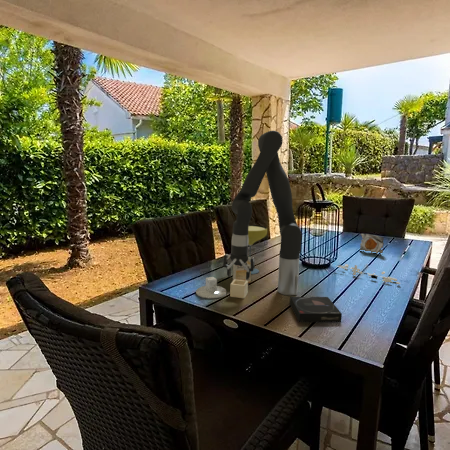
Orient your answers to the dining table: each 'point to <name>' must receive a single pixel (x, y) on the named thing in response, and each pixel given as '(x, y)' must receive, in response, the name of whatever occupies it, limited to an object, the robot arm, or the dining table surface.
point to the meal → (372, 243)
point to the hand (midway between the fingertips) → (238, 277)
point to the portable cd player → (315, 309)
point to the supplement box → (241, 272)
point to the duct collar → (238, 288)
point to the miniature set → (369, 273)
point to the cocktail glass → (255, 238)
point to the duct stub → (211, 289)
